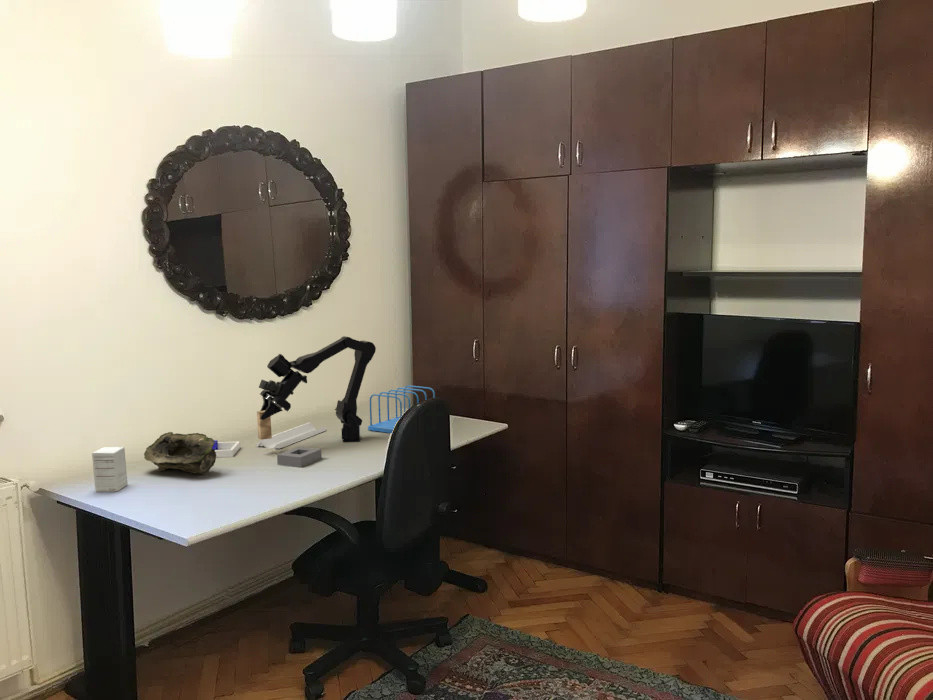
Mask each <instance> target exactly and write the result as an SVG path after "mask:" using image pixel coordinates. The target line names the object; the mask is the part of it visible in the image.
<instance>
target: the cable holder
mask: <svg viewBox="0 0 933 700" xmlns="http://www.w3.org/2000/svg"><path fill="white" fill-rule="evenodd" d="M213 440H214V441H215V444H214V446H213V447H212V449H215V450H219V449H218V442H219V441H218V440H217V439H213Z"/></svg>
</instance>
